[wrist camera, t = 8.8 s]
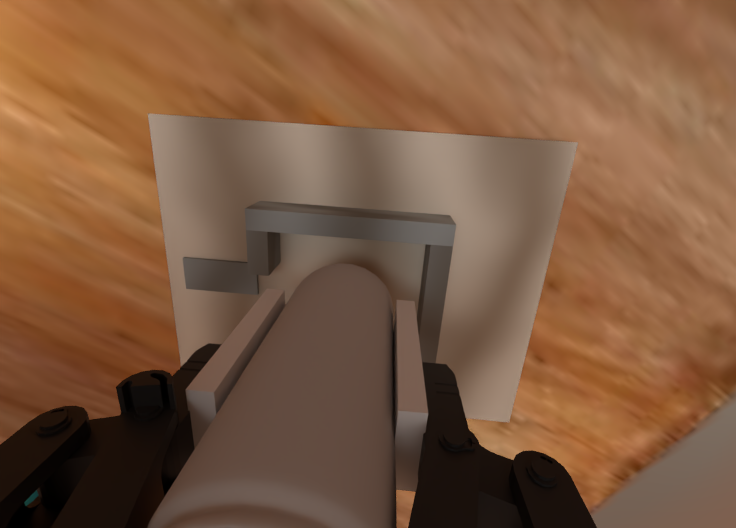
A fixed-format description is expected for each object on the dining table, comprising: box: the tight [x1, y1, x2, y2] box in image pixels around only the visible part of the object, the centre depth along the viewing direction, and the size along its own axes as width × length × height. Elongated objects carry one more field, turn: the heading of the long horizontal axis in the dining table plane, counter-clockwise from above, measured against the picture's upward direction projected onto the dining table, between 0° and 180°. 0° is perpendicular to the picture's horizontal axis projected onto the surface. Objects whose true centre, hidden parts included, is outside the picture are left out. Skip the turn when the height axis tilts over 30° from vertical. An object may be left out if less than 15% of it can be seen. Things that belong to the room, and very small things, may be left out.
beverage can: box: [147, 263, 396, 528], centre depth 12 cm, size 5×5×12 cm
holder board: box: [148, 114, 578, 422], centre depth 19 cm, size 20×16×3 cm
